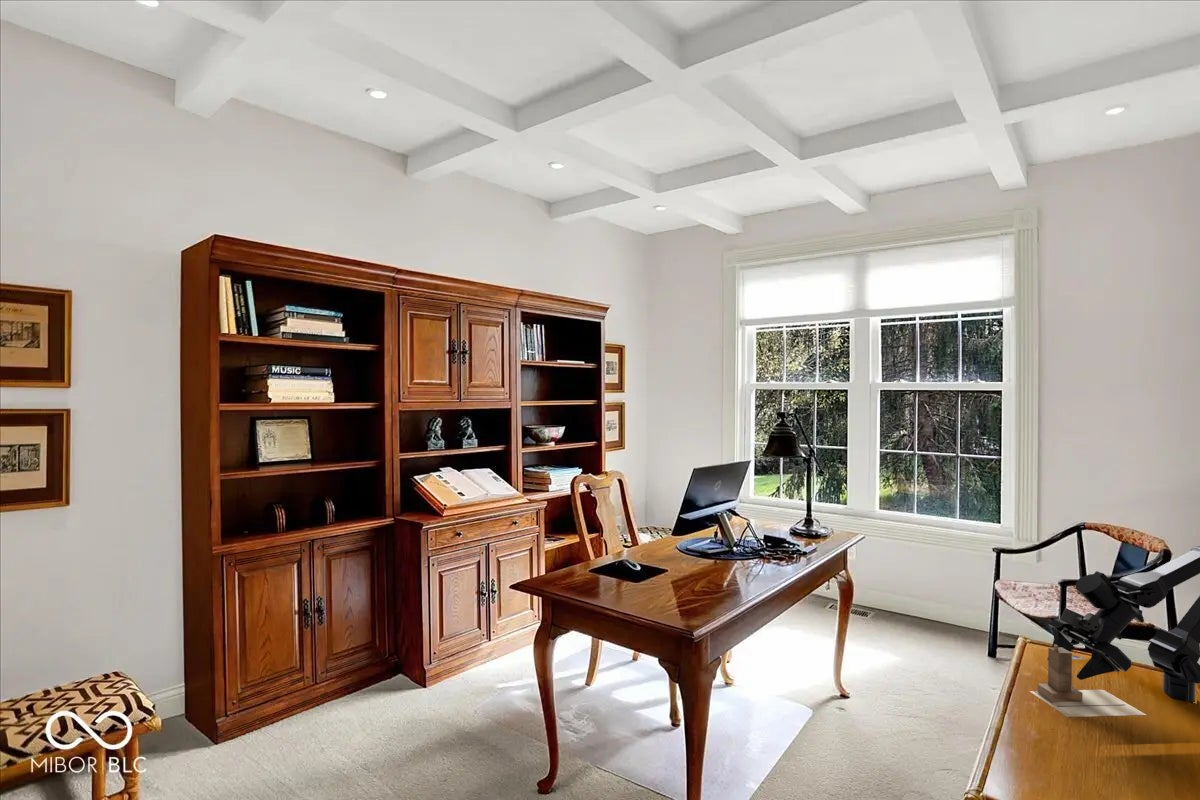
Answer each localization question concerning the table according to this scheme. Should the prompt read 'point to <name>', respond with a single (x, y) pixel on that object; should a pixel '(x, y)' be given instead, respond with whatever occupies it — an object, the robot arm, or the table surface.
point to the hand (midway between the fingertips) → (1063, 669)
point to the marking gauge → (1059, 677)
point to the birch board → (1093, 705)
